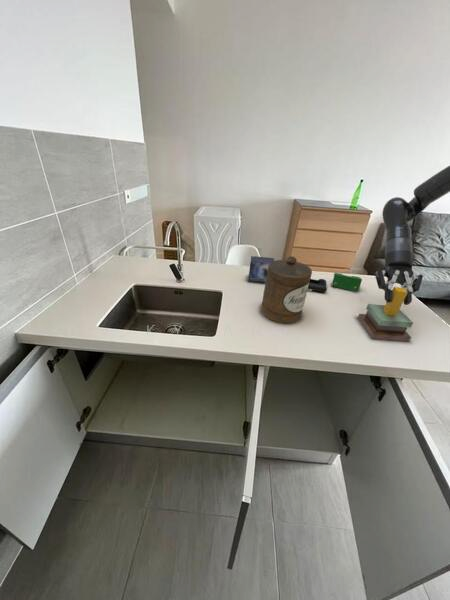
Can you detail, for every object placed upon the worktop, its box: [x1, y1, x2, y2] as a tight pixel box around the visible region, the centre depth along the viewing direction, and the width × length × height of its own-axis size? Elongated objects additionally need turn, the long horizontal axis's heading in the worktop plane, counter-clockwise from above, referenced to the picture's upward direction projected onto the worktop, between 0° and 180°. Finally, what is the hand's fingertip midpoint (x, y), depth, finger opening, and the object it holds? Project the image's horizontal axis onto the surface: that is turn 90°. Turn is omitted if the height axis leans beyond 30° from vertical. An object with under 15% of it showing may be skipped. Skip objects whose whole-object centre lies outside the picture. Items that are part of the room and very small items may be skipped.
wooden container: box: [260, 255, 313, 324], centre depth 86 cm, size 15×15×22 cm
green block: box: [331, 272, 363, 292], centre depth 111 cm, size 12×6×9 cm, turn 62°
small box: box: [247, 255, 275, 284], centre depth 111 cm, size 11×6×10 cm, turn 83°
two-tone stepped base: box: [357, 303, 414, 342], centre depth 84 cm, size 12×12×7 cm
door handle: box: [307, 278, 328, 293], centre depth 113 cm, size 3×20×16 cm
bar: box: [383, 286, 408, 316], centre depth 79 cm, size 3×3×9 cm
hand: (398, 302), depth 78 cm, fingers open, 4 cm apart
